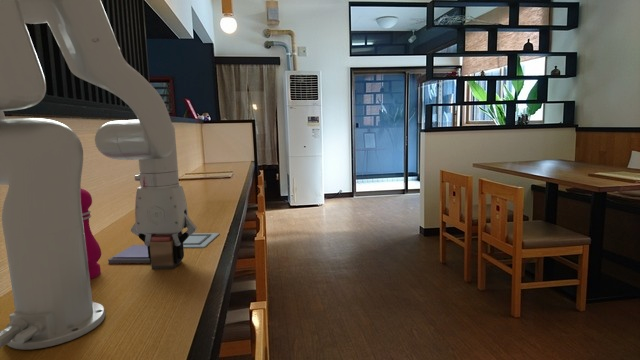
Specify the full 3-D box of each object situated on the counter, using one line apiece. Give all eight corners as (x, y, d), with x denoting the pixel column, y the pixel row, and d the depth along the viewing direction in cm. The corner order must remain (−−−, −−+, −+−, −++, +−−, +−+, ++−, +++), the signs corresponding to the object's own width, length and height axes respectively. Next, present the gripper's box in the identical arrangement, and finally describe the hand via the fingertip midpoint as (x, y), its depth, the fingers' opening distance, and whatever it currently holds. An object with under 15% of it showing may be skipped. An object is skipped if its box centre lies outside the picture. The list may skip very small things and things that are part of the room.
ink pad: (151, 263, 85) (151, 258, 84) (108, 263, 85) (108, 258, 85) (171, 249, 94) (171, 244, 94) (132, 249, 95) (132, 244, 95)
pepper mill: (84, 284, 74) (72, 183, 71) (53, 281, 76) (40, 183, 73) (111, 270, 81) (101, 178, 78) (82, 268, 83) (72, 178, 80)
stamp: (172, 269, 81) (170, 237, 80) (151, 269, 81) (149, 237, 80) (181, 261, 86) (179, 231, 85) (161, 261, 86) (159, 231, 85)
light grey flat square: (204, 247, 95) (204, 245, 95) (157, 247, 96) (157, 246, 96) (219, 234, 107) (219, 232, 107) (178, 234, 108) (177, 232, 107)
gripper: (111, 183, 77) (119, 268, 80) (191, 181, 76) (198, 268, 79) (131, 178, 85) (138, 256, 87) (204, 176, 84) (210, 255, 87)
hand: (166, 260), depth 83 cm, fingers closed on stamp, 4 cm apart
